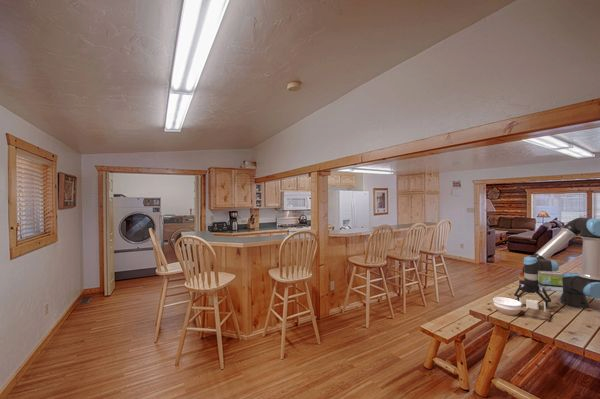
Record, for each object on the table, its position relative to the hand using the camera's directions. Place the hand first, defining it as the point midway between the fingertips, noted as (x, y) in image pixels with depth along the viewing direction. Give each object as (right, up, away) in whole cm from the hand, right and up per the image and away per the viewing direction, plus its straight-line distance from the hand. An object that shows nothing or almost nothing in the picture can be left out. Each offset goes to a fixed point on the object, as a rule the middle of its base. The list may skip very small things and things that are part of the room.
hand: (532, 308), depth 188 cm
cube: (0, 0, 0) cm, 0 cm away
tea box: (+50, +1, +38) cm, 63 cm away
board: (-6, 0, -11) cm, 13 cm away
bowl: (-21, -1, -4) cm, 22 cm away
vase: (+28, 0, +36) cm, 46 cm away
